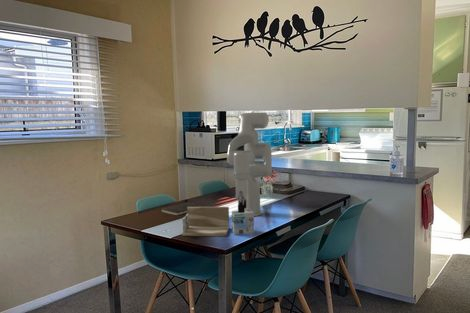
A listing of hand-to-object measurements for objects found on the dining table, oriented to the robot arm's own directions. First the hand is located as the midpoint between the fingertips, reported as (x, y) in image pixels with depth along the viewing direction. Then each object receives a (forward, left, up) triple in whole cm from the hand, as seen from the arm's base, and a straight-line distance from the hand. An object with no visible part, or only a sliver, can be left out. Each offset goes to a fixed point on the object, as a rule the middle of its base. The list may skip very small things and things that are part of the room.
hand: (242, 210), depth 208 cm
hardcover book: (-48, -43, -12) cm, 65 cm away
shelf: (-1, -19, -12) cm, 22 cm away
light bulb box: (-1, 0, -12) cm, 12 cm away
